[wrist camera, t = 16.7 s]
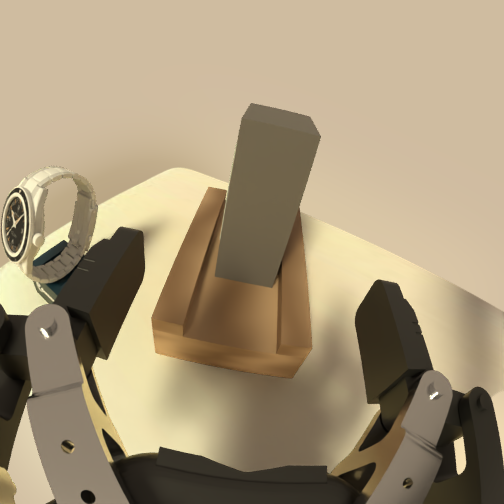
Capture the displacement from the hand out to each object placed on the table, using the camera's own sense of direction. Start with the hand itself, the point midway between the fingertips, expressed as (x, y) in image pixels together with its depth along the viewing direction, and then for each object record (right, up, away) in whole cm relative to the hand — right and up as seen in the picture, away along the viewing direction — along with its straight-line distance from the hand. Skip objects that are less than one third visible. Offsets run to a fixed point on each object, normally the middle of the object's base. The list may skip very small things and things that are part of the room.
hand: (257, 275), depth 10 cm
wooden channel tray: (-1, -2, +17) cm, 17 cm away
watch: (-16, -3, +12) cm, 20 cm away
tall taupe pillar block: (-1, 0, +15) cm, 15 cm away
